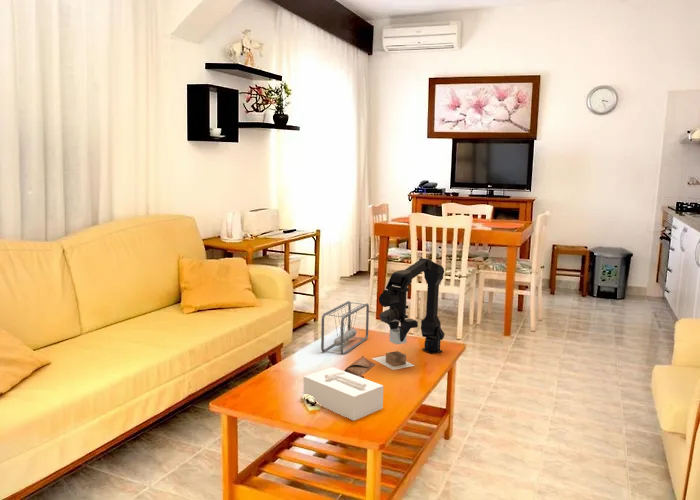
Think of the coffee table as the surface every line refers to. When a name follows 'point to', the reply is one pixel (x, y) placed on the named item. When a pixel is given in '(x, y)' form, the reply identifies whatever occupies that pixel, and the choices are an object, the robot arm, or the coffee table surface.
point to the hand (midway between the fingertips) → (397, 339)
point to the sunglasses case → (360, 367)
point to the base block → (395, 358)
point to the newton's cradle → (350, 332)
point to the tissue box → (344, 392)
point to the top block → (396, 336)
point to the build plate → (383, 361)
